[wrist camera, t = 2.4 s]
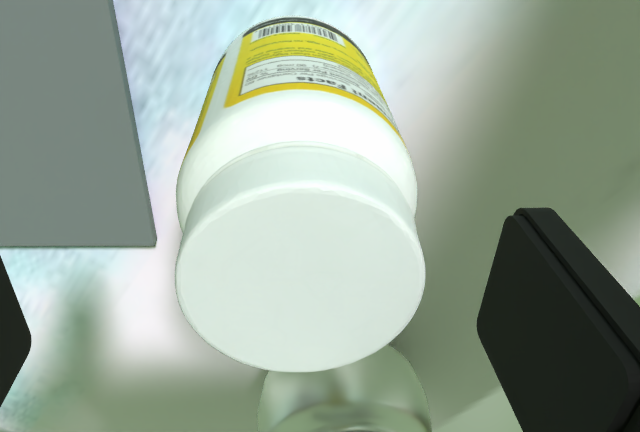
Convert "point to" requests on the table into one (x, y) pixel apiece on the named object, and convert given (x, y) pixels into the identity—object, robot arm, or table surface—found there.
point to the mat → (68, 129)
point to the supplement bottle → (297, 205)
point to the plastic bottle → (347, 398)
